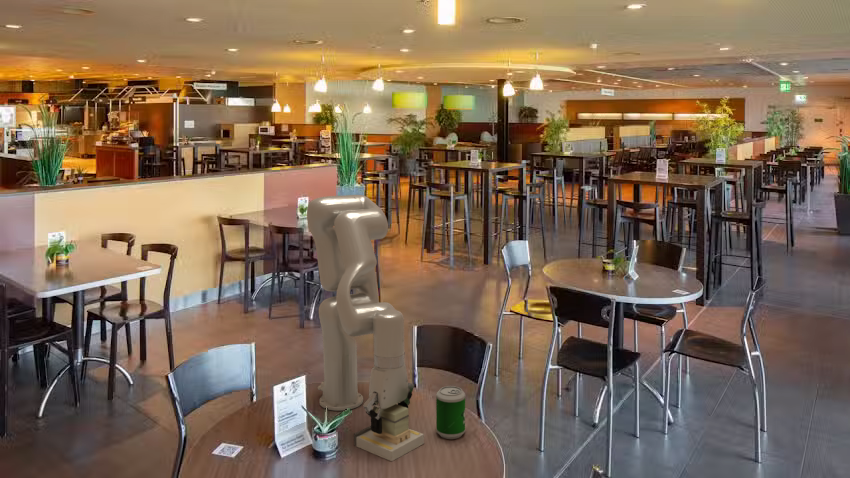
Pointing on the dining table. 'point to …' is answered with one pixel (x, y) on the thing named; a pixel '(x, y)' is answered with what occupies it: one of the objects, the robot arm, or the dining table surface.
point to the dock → (387, 444)
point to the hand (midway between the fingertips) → (390, 425)
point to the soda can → (450, 412)
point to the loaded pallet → (394, 424)
